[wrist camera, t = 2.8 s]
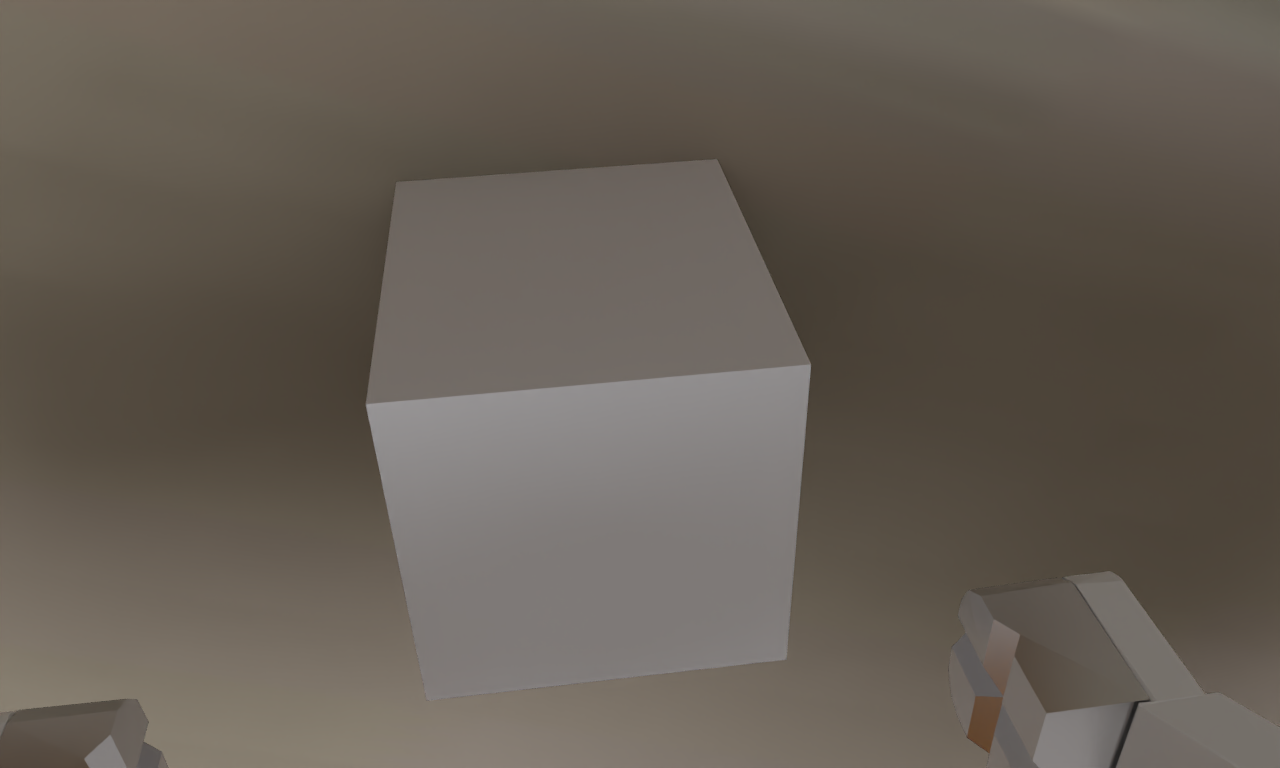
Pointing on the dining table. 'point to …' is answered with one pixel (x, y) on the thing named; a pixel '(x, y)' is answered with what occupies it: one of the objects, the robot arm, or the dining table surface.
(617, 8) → the dining table surface
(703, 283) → the light grey block
